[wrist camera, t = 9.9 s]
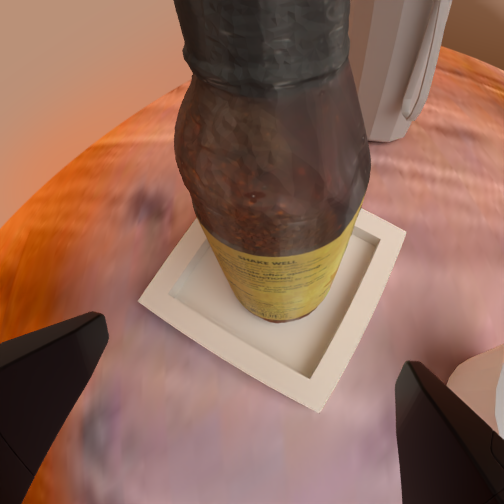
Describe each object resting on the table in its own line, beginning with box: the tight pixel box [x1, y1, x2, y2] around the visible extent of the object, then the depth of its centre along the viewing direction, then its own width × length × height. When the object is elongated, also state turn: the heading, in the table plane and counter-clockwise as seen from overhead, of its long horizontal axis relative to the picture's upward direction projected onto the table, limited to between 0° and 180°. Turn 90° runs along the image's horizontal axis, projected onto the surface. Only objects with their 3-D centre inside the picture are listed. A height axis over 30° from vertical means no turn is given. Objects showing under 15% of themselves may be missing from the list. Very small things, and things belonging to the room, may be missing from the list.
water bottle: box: [348, 0, 452, 142], centre depth 15 cm, size 9×8×25 cm
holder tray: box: [138, 208, 407, 413], centre depth 20 cm, size 13×13×2 cm
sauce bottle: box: [174, 0, 371, 323], centre depth 11 cm, size 7×6×20 cm
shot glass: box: [446, 344, 504, 439], centre depth 13 cm, size 7×7×7 cm
